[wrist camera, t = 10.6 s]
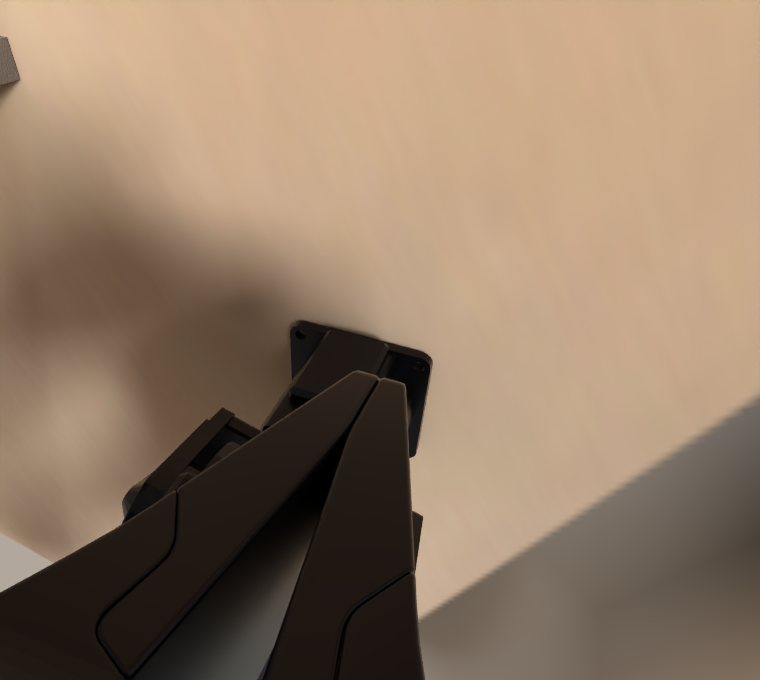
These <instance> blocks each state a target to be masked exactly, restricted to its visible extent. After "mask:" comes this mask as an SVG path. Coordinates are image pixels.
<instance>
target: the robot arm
mask: <svg viewBox="0 0 760 680" xmlns="http://www.w3.org/2000/svg"><path fill="white" fill-rule="evenodd" d="M300 331H302V332H304V333H305V335H304V334H302V333H301V332H300ZM290 338H291V363H292V382H291V383H290V385H289V386H288V388H287V389H286V391H285V392H284V394H283V395H282V397H281V398H280V400H279V401H278V403H277V404H276V406H275V407H274V409H273V410H272V412H271V413H270V414H269V416H268V417H267V419H266V420H265V422H264V423H263V425H262V426H261V428H260V429H259V430H258V429H256V428H255V427H253V426H251V425H249V424H247V423H245V422H244V421H242V420H240V419H238V418H236V417H235V414H234V413H232V412H230V411H228V410H226V409H225V408H221V409H220V410H219V411H218V412H217V413H216V414H215V415H214V416H213V417H212V418H211V419H210V420H208V419H207V420H205V421H204V422H203V423H202V424H201V425H200V426H199V427H198V428H197V429H196V430H195V431H194V432H193V433H192V434H191V435H190V436H189V437H188V438H187V439H186V440H185V441H184V442H183V443H182V444H181V445H180V446H179V447H178V448H177V449H176V450H175V451H174V452H173V453H172V454H171V455H170V456H169V457H168V458H167V459H166V460H165V461H164V462H163V463H162V464H161V465H160V466H159V467H158V468H157V469H156V470H155V471H154V472H153V473H151V474H150V475H148V476H147V477H146V478H144V479H143V480H141V481H140V482H138V483H137V484H136V485H134V486H133V487H132V488H131V489H130V490H129V491H128V492H127V494H126V495H125V497H124V499H123V501H122V506H123V513H124V520H123V522H122V525H120V526H119V527H117V528H115V529H114V530H112V531H110V532H109V533H107V534H105V535H103V536H102V537H100V538H98V539H96V540H95V541H93V542H91V543H89V544H88V545H86V546H84V547H82V548H81V549H79V550H77V551H75V552H74V553H72V554H70V555H68V556H66V557H65V558H63V559H61V560H59V561H57V562H55V563H54V564H52V565H50V566H48V567H46V568H44V569H43V570H41V571H39V572H37V573H35V574H33V575H32V576H30V577H28V578H26V579H24V580H23V581H21V582H19V583H17V584H15V585H13V586H11V587H10V588H8V589H6V590H4V591H3V592H0V680H425V675H424V668H423V661H422V655H421V648H420V638H419V625H418V614H417V600H416V578H415V570H416V563H417V556H418V549H419V542H420V535H421V528H422V521H423V516H421V515H420V514H418V513H416V512H414V511H412V502H411V482H410V461H409V458H411V457H413V456H415V454H416V452H417V449H418V444H419V439H420V433H421V427H422V422H423V416H424V410H425V405H426V399H427V394H428V388H429V382H430V377H431V371H432V365H433V362H432V359H431V357H430V356H429V355H427V354H425V353H423V352H419V351H416V350H412V349H408V348H404V347H400V346H397V345H393V344H389V343H385V342H381V341H377V340H374V339H370V338H366V337H362V336H358V335H355V334H351V333H347V332H343V331H339V330H335V329H332V328H328V327H324V326H320V325H316V324H313V323H309V322H305V321H298V322H296V323H295V325H294V326H293V327H292V329H291V331H290ZM416 362H420V363H422V364H423V365H424V366H420V365H418V364H417V363H416Z"/></svg>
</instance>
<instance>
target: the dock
mask: <svg viewBox="0 0 760 680" xmlns="http://www.w3.org/2000/svg"><path fill="white" fill-rule="evenodd" d="M17 80H20V78H19V75H18V71H17V68H16V65H15V62H14V59H13V56H12V52H11V49H10V46H9V43H8V40H7V37H2V36H0V85H2V84H6V83H9V82H13V81H17Z"/></svg>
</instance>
